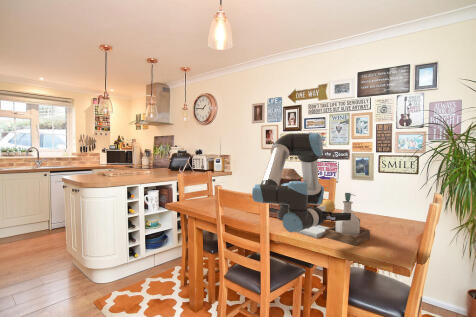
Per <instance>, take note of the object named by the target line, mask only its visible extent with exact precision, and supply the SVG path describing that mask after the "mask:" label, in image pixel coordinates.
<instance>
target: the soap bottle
mask: <svg viewBox="0 0 476 317" xmlns="http://www.w3.org/2000/svg"><path fill="white" fill-rule="evenodd" d="M351 196H355V197H356V194H354V193H353V194H352V193H351V192H344V198H345V200H342V203H343V210H342V211H341V212H340V213H344V212H346V211H350V210H352V204H354V202H353V201H351V198H352V197H351ZM358 218H359V217H358V216H357V215H356V214H355V213H354V212H353V216H352V217H351V220H347V221H346V220H344V221H335V226H336V232H340V233H344V234H348V235H352V236H355V235H358V234H360V229H361V228H360V227H361V221H360V222H359V219H360V218H359V219H358Z"/></svg>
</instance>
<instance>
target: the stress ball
mask: <svg viewBox="0 0 476 317" xmlns="http://www.w3.org/2000/svg"><path fill="white" fill-rule="evenodd" d="M324 205H325V212H332V213H334V212H335V209H336V204H335V203H334V201H333V200H331V199H325V198H324V199H323V202H322V204H319V206H324ZM328 215H329V213H328Z"/></svg>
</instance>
